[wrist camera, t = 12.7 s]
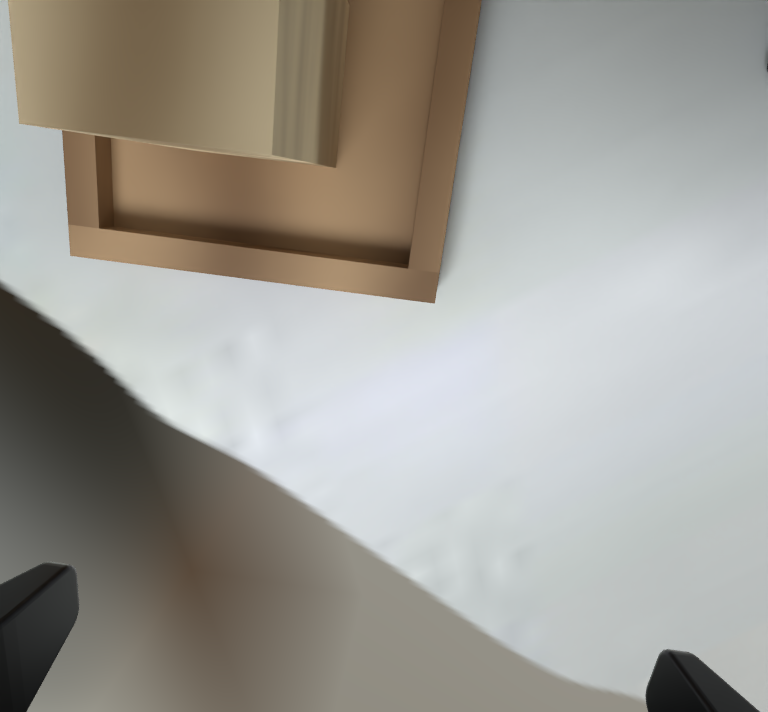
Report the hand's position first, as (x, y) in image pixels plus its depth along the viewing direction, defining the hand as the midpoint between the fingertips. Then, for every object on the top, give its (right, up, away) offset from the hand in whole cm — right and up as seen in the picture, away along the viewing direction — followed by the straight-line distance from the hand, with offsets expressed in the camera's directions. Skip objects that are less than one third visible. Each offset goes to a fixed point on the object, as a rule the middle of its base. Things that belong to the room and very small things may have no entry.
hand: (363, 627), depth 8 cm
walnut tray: (-3, +13, +9) cm, 16 cm away
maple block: (-3, +13, +8) cm, 15 cm away
